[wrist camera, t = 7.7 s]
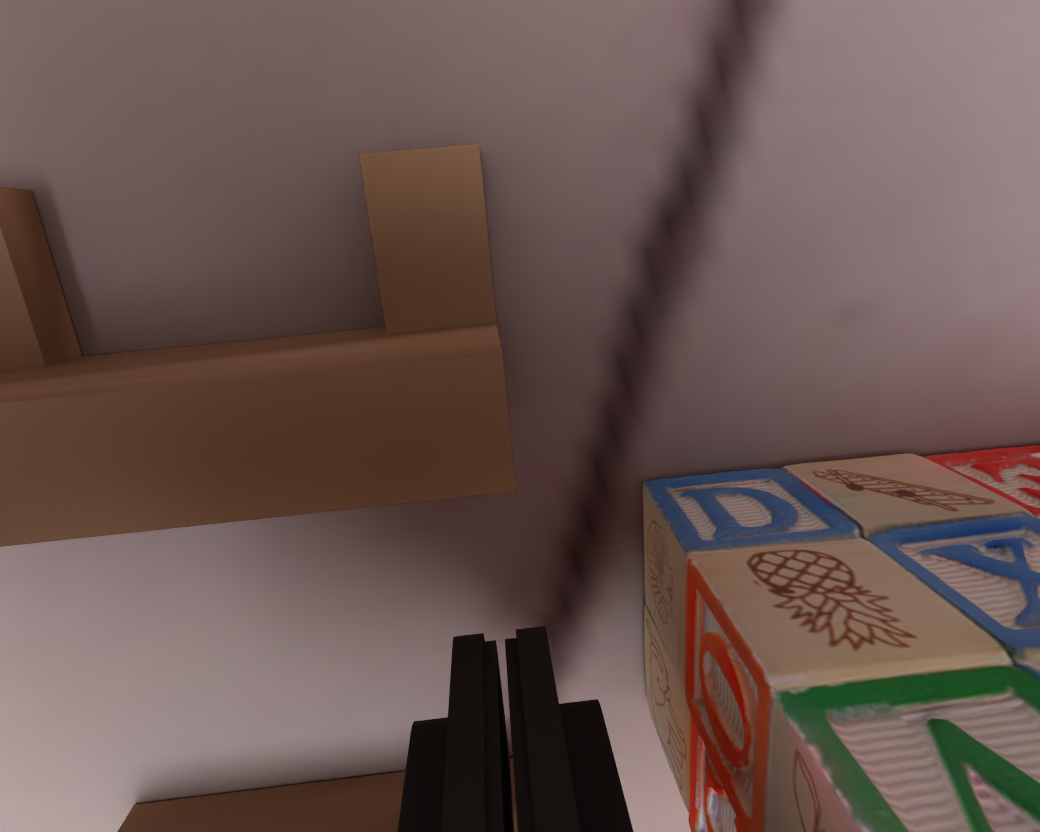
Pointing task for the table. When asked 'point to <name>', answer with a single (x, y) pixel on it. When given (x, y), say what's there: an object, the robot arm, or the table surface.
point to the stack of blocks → (849, 643)
